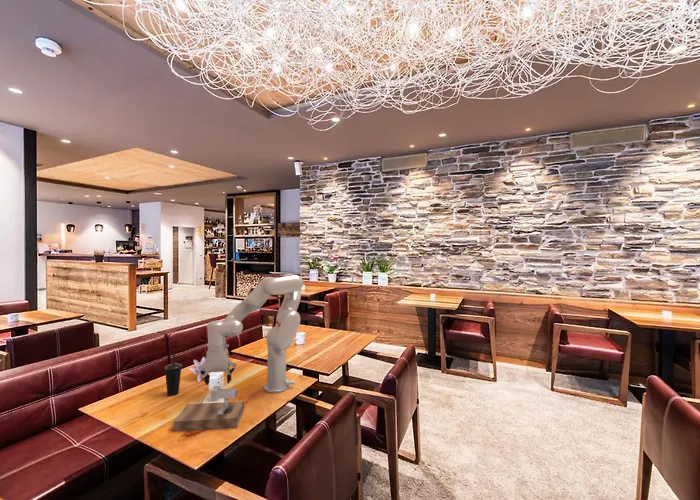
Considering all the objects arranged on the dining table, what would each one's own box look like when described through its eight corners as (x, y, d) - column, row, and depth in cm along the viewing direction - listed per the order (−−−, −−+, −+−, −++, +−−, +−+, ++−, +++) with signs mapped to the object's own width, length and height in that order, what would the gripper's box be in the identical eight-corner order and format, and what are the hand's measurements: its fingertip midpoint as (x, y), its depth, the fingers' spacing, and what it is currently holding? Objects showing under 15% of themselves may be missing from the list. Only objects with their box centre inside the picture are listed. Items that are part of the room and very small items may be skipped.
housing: (244, 410, 140) (244, 400, 140) (237, 427, 126) (237, 417, 126) (187, 413, 137) (187, 403, 137) (173, 431, 123) (173, 420, 123)
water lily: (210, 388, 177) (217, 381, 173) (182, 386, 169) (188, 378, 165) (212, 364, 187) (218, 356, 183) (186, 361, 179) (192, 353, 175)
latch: (217, 407, 134) (218, 388, 134) (236, 407, 134) (237, 388, 134) (209, 417, 126) (210, 397, 126) (229, 417, 126) (230, 397, 126)
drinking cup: (185, 391, 158) (185, 352, 158) (172, 398, 150) (172, 356, 150) (173, 389, 160) (174, 350, 160) (160, 395, 153) (160, 354, 153)
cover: (229, 396, 154) (229, 383, 154) (224, 406, 144) (224, 392, 144) (207, 397, 153) (207, 384, 153) (201, 408, 143) (201, 393, 143)
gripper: (237, 343, 153) (238, 378, 154) (200, 345, 151) (201, 381, 151) (234, 348, 146) (235, 385, 146) (194, 351, 144) (196, 388, 144)
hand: (218, 383), depth 149 cm, fingers open, 9 cm apart
